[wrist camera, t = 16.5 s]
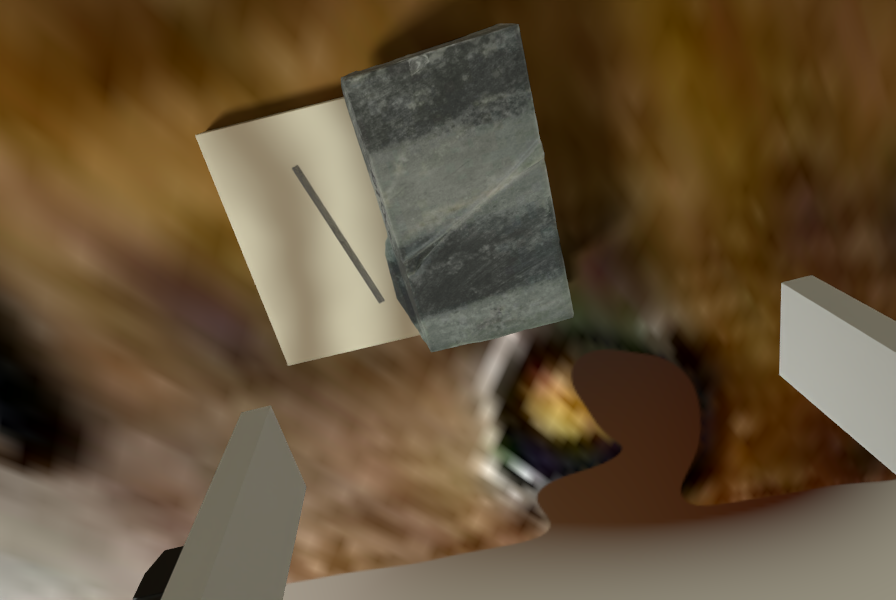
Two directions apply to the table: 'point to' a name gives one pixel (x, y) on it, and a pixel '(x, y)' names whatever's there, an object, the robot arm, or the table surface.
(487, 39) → the stone block
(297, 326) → the board
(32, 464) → the table surface
